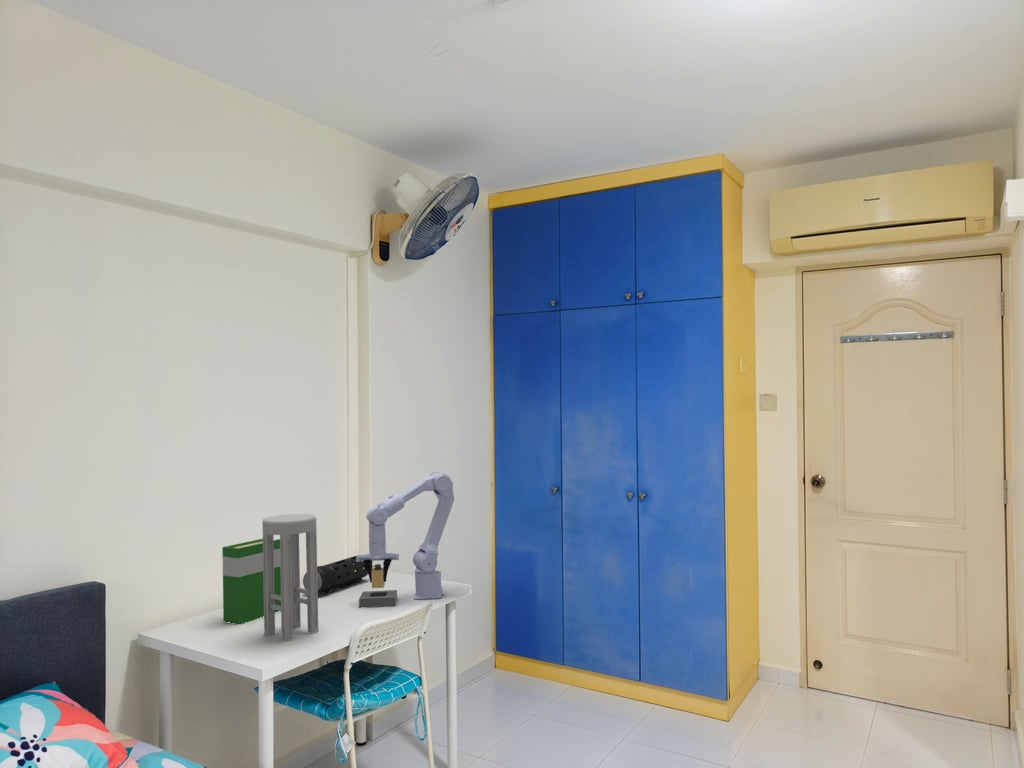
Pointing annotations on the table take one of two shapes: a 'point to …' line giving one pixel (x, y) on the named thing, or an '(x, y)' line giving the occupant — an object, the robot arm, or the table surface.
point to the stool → (290, 573)
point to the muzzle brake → (338, 574)
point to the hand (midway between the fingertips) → (378, 581)
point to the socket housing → (378, 598)
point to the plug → (378, 577)
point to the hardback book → (247, 581)
